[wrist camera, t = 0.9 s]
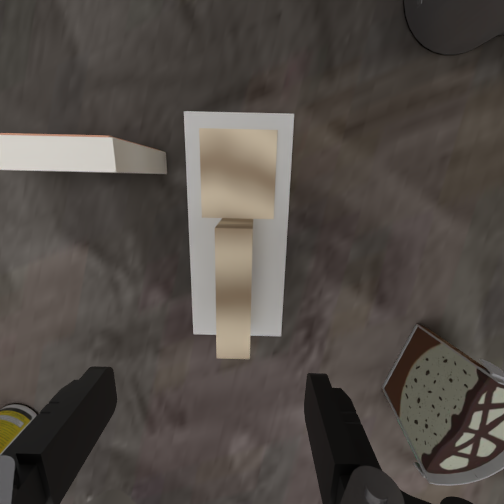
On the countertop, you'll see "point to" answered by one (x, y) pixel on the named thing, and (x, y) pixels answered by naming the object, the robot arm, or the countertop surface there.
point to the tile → (78, 154)
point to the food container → (448, 409)
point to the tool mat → (264, 230)
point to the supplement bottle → (13, 423)
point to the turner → (236, 221)
